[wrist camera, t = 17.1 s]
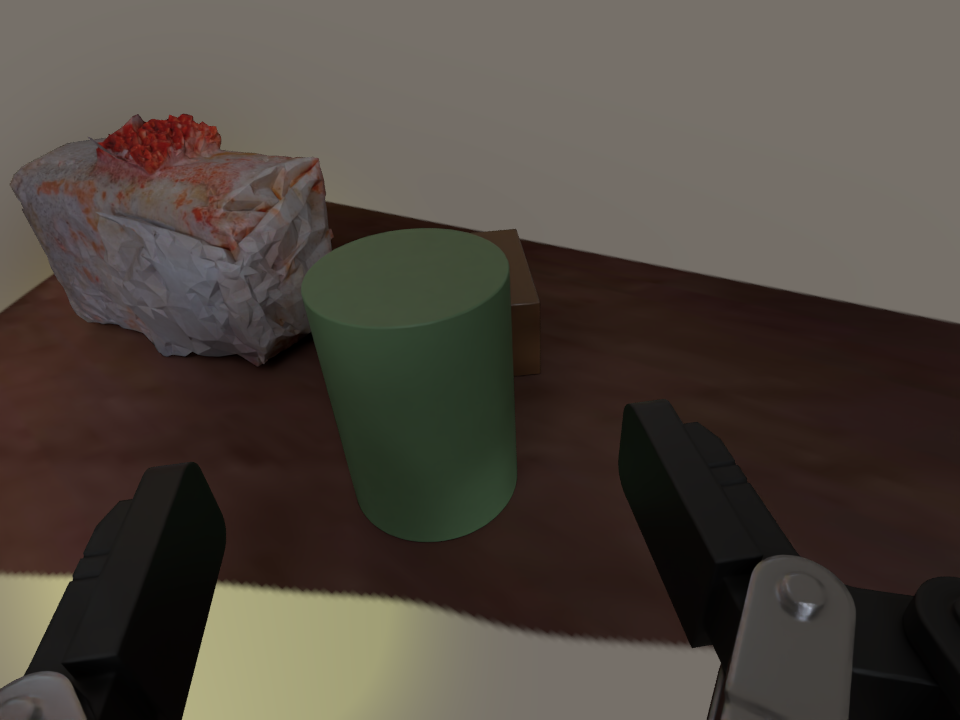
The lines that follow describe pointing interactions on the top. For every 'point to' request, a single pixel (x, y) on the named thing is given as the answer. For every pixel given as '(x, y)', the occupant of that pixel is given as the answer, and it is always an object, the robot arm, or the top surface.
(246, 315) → the food item
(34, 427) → the top surface
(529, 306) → the walnut block
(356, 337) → the green tin
